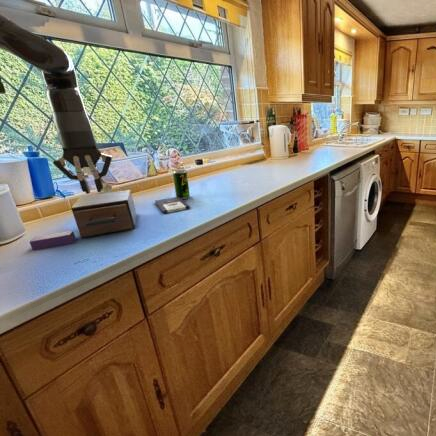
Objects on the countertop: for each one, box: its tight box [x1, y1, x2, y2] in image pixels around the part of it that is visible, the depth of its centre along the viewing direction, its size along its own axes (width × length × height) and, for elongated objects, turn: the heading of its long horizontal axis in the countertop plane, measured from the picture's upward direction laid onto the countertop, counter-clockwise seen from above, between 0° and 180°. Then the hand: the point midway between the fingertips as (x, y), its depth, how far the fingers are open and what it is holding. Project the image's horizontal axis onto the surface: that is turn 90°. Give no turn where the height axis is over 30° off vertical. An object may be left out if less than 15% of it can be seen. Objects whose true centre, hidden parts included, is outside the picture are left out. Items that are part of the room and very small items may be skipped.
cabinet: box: [70, 189, 138, 239], centre depth 99 cm, size 16×14×10 cm
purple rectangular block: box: [29, 229, 77, 251], centre depth 87 cm, size 9×4×3 cm, turn 119°
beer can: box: [172, 168, 191, 200], centre depth 129 cm, size 5×5×12 cm
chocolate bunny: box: [99, 182, 113, 194], centre depth 120 cm, size 6×8×10 cm
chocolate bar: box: [154, 196, 190, 214], centre depth 120 cm, size 9×1×18 cm
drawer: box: [72, 203, 132, 238], centre depth 95 cm, size 19×13×8 cm
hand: (93, 192), depth 86 cm, fingers closed
